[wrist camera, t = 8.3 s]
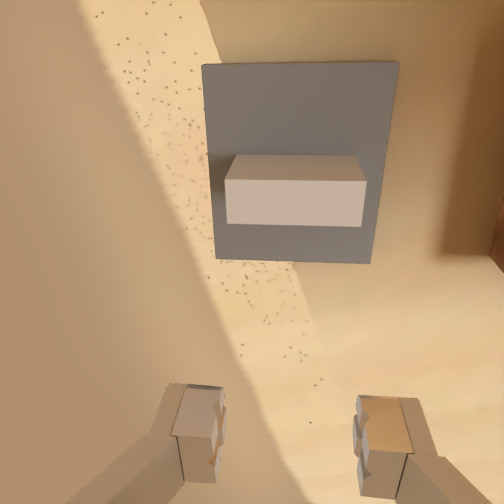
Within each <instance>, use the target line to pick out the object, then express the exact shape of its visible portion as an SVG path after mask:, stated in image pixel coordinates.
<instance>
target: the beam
mask: <svg viewBox="0 0 504 504" xmlns="http://www.w3.org/2000/svg"><path fill="white" fill-rule="evenodd" d="M489 256H490V257H491V259H492V260H493V261H494V262H495V263H496V265H497V266H498V267H499V268H500V269H501V271H502V272H503V273H504V198H503V203H502V207H501V211H500V215H499V219H498V223H497V227H496V231H495V235H494V239H493V243H492V247H491V251H490V255H489Z"/></svg>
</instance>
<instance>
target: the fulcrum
mask: <svg viewBox="0 0 504 504" xmlns="http://www.w3.org/2000/svg"><path fill="white" fill-rule="evenodd" d="M398 68H399V62H397V61H354V62H288V63H223V64H203V65H201V69H202V83H203V96H204V109H205V122H206V136H207V149H208V162H209V176H210V189H211V202H212V215H213V229H214V242H215V255H216V259H232V260H263V261H294V262H325V263H356V264H370V261H371V254H372V247H373V241H374V234H375V227H376V220H377V213H378V206H379V199H380V192H381V185H382V178H383V171H384V164H385V158H386V151H387V144H388V137H389V130H390V123H391V116H392V109H393V102H394V95H395V88H396V82H397V75H398Z"/></svg>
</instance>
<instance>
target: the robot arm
mask: <svg viewBox="0 0 504 504" xmlns="http://www.w3.org/2000/svg"><path fill="white" fill-rule="evenodd" d="M224 399H225V393H224V388H223V387H216V386H205V385H194V384H180V383H170V384H169V385H168V387H167V388H166V390H165V393H164V396H163V398H162V401H161V404H160V406H159V409H158V412H157V415H156V417H155V420H154V423H153V426H152V428H151V431H150V434H144V435H142V436H141V437H140V438H139V439H138V440H137V441H135V442H134V443H133V444H132V445H131V446H130V447H129V448H127V449H126V450H125V451H124V452H123V453H122V454H120V455H119V456H118V457H117V458H116V459H115V460H114V461H112V462H111V463H110V464H109V465H108V466H107V467H105V468H104V469H103V470H102V471H101V472H100V473H99V474H97V475H96V476H95V477H94V478H93V479H92V480H90V481H89V482H88V483H87V484H86V485H85V486H84V487H82V488H81V489H80V490H79V491H78V492H77V493H75V494H74V495H73V496H72V497H71V498H70V499H69V500H67V502H66V503H65V504H168V503H169V502H170V501H171V499H172V498H173V497H174V496H175V494H176V493H177V492H178V491H179V490H180V488H181V487H182V486H183V485H184V482H199V483H216V482H217V476H218V471H219V465H220V460H221V458H220V446H221V445H222V444H223V442H224V436H225V429H226V407H225V406H224V405H223V404H224ZM356 409H357V414H356V415H355V416H354V421H353V445H354V453H355V454H356V456H357V457H358V458H359V460H358V466H357V475H358V482H359V488H360V495H361V496H366V497H375V498H384V499H393V500H396V501H395V502H396V503H397V504H492V503H491V502H490V501H489V500H488V499H487V498H486V497H485V496H484V495H483V494H482V493H481V492H480V491H479V490H478V489H477V488H476V487H475V486H474V485H473V484H472V483H471V482H470V481H469V480H468V479H467V478H466V477H465V476H464V475H463V474H461V473H460V472H459V471H458V470H457V469H456V468H455V467H454V466H453V465H452V464H451V463H450V462H449V461H448V460H447V459H446V458H445V457H441V456H438V454H437V451H436V448H435V445H434V442H433V439H432V436H431V433H430V430H429V427H428V424H427V421H426V418H425V415H424V412H423V409H422V406H421V403H420V401H419V400H418V399H417V398H403V397H397V398H396V397H390V396H370V395H358V397H357V401H356Z"/></svg>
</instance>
